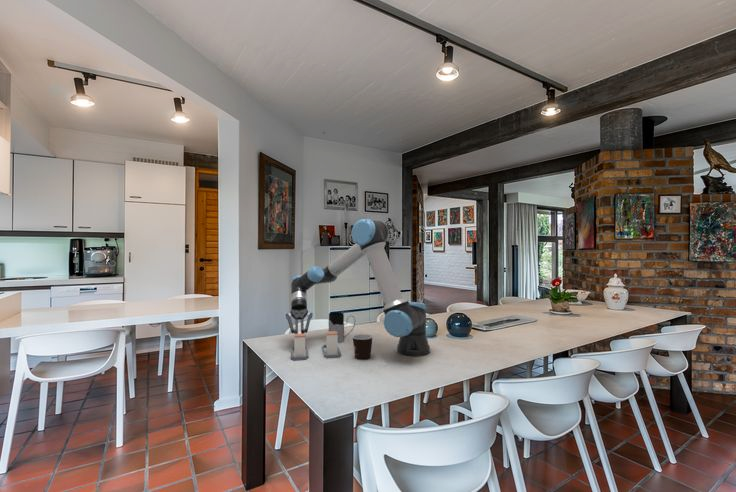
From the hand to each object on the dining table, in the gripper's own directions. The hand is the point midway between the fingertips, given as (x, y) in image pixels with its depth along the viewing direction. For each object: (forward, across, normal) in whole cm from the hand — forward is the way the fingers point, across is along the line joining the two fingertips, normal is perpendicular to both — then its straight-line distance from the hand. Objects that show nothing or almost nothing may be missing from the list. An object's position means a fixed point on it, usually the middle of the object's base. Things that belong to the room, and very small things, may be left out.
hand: (299, 345), depth 155 cm
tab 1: (+6, 0, +1) cm, 6 cm away
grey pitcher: (-9, -21, -16) cm, 28 cm away
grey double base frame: (+4, -7, -3) cm, 8 cm away
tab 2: (+5, -14, 0) cm, 15 cm away
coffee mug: (+10, -27, +4) cm, 29 cm away
